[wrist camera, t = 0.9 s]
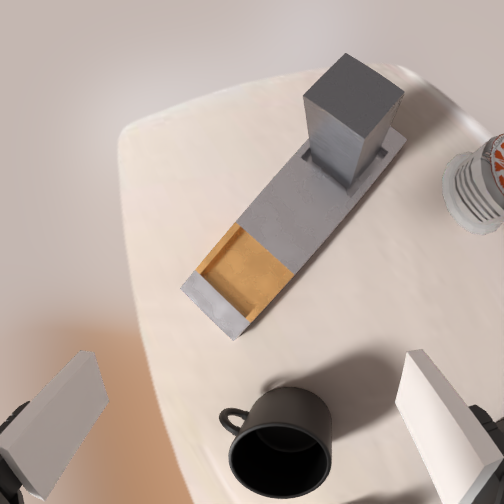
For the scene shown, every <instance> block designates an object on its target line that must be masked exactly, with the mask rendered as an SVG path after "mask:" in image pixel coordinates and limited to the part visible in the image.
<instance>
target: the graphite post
mask: <svg viewBox="0 0 504 504" xmlns="http://www.w3.org/2000/svg"><path fill="white" fill-rule="evenodd" d="M403 95H404V91H403V90H402V89H400V88H399V87H397V86H396V85H395V84H393V83H392V82H390V81H389V80H388V79H386V78H385V77H383V76H382V75H380V74H379V73H377V72H376V71H374V70H373V69H371V68H369V67H368V66H366V65H365V64H363V63H362V62H360V61H358V60H357V59H355V58H353V57H352V56H350V55H348V54H347V53H345V54H344V55H343V56H342V57H341V58H340V59H339V60H338V61H337V62H336V63H335V64H334V65H333V66H332V67H331V68H330V69H329V70H328V71H327V72H326V73H325V74H324V75H323V76H322V77H321V78H320V79H319V80H318V81H317V82H316V83H315V84H314V85H313V86H312V87H311V88H310V89H309V90H308V91H307V92H306V93H305V94H304V95H303V99H304V106H305V113H306V120H307V127H308V134H309V142H310V149H311V158H312V162H314V163H315V164H316V165H318V166H319V167H320V168H321V169H323V170H324V171H325V172H326V173H328V174H329V175H330V176H331V177H333V178H334V179H335V180H336V181H337V182H339V183H340V184H341V185H342V186H344V187H345V188H346V189H347V190H348V191H349V189H350V188H351V187H352V186H353V185H354V183H355V182H356V181H357V180H358V179H359V177H360V176H361V175H362V174H363V173H364V171H365V170H366V169H367V168H368V167H369V165H370V164H371V163H372V162H373V161H374V159H375V158H376V157H377V154H378V152H379V150H380V148H381V146H382V143H383V141H384V139H385V137H386V134H387V132H388V130H389V128H390V125H391V123H392V121H393V119H394V116H395V114H396V112H397V109H398V107H399V104H400V102H401V100H402V97H403Z"/></svg>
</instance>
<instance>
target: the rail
mask: <svg viewBox="0 0 504 504" xmlns="http://www.w3.org/2000/svg"><path fill="white" fill-rule="evenodd" d="M406 141H407V139H406V138H405V137H404V136H402V135H401V134H400V133H399V132H397V131H396V130H395V129H394V128H392V127H391V126H390V128H389V130H388V132H387V134H386V137H385V139H384V141H383V143H382V146H381V148H380V150H379V152H378V154H377V157H376V158H375V159H374V161H373V162H372V163H371V164H370V165H369V167H368V168H367V169H366V170H365V171H364V173H363V174H362V175H361V176H360V177H359V179H358V180H357V181H356V182H355V183H354V185H353V186H352V187H351V188H350V189H349V191H348V190H347V189H346V188H345V187H344V186H342V185H341V184H340V183H339V182H337V181H336V180H335V179H334V178H333V177H331V176H330V175H329V174H328V173H326V172H325V171H324V170H323V169H321V168H320V167H319V166H318V165H316V164H315V163H314V162H312V158H311V149H310V142H309V139H308V140H307V141H306V142H305V143H304V144H303V145H302V146H301V148H300V149H299V150H298V151H297V152H296V153H295V154H294V155H293V157H292V158H291V159H290V160H289V161H288V162H287V163H286V164H285V166H284V167H283V168H282V169H281V170H280V171H279V172H278V174H277V175H276V176H275V177H274V178H273V179H272V180H271V181H270V183H269V184H268V185H267V186H266V187H265V188H264V190H263V191H262V192H261V193H260V194H259V195H258V196H257V198H256V199H255V200H254V201H253V202H252V203H251V205H250V206H249V207H248V208H247V209H246V210H245V211H244V213H243V214H242V215H241V216H240V217H239V218H238V220H237V221H236V222H235V223H234V224H233V226H232V227H231V228H230V229H229V230H228V231H227V233H226V234H225V235H224V236H223V237H222V238H221V240H220V241H219V242H218V243H217V244H216V246H215V247H214V248H213V249H212V250H211V252H210V253H209V254H208V255H207V256H206V258H205V259H204V260H203V261H202V262H201V264H200V265H199V266H198V267H197V268H196V270H195V271H194V272H193V273H192V274H191V276H190V277H189V278H188V279H187V281H186V282H185V283H184V284H183V285H182V287H181V288H180V289H181V290H182V291H183V292H184V293H185V294H186V295H187V296H188V297H189V298H190V299H191V300H192V301H193V302H194V303H195V304H196V305H197V306H198V307H199V308H200V309H201V310H202V311H203V312H204V313H205V314H206V315H207V316H208V317H209V318H210V319H211V320H212V321H213V322H214V323H215V324H216V325H217V326H218V327H219V328H220V329H221V330H222V331H223V332H224V333H226V334H227V335H228V336H229V337H230V338H231V339H232V340H233V341H234V340H235V339H237V338H238V337H239V336H240V335H241V334H242V333H243V332H244V330H245V329H246V328H247V327H248V326H249V325H250V324H251V323H252V322H253V321H254V320H255V319H256V318H257V317H258V315H259V314H260V313H261V312H262V311H263V310H264V309H265V308H266V307H267V306H268V305H269V303H270V302H271V301H272V300H273V299H274V298H275V297H276V296H277V295H278V294H279V292H280V291H281V290H282V289H283V288H284V287H285V286H286V285H287V284H288V283H289V281H290V280H291V279H292V278H293V277H294V276H295V275H296V274H297V272H298V271H299V270H300V269H301V268H302V267H303V266H304V264H305V263H306V262H307V261H308V260H309V259H310V258H311V257H312V255H313V254H314V253H315V252H316V251H317V250H318V248H319V247H320V246H321V245H322V244H323V243H324V242H325V240H326V239H327V238H328V237H329V236H330V235H331V233H332V232H333V231H334V230H335V229H336V228H337V226H338V225H339V224H340V223H341V222H342V220H343V219H344V218H345V217H346V216H347V215H348V213H349V212H350V211H351V210H352V209H353V207H354V206H355V205H356V204H357V203H358V201H359V200H360V199H361V198H362V197H363V195H364V194H365V193H366V192H367V190H368V189H369V188H370V187H371V186H372V184H373V183H374V182H375V181H376V179H377V178H378V177H379V176H380V174H381V173H382V172H383V171H384V170H385V168H386V167H387V166H388V165H389V163H390V162H391V161H392V160H393V158H394V157H395V156H396V154H397V153H398V152H399V151H400V149H401V148H402V147H403V145H404V144H405V142H406Z"/></svg>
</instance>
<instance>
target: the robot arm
mask: <svg viewBox="0 0 504 504" xmlns="http://www.w3.org/2000/svg"><path fill="white" fill-rule="evenodd" d="M108 402H109V399H108V396H107V393H106V390H105V387H104V384H103V380H102V377H101V374H100V371H99V367H98V363H97V360H96V357H95V353H94V352H88V351H82V350H80V351H79V352H78V353H77V355H76V356H74V358H73V359H71V360H70V361H69V362H68V363H67V364H66V366H65V367H64V368H63V369H62V370H61V371H60V372H59V373H58V374H57V375H56V376H55V377H54V378H53V379H52V380H51V381H50V382H49V383H48V384H47V385H46V386H45V387H44V388H43V389H42V390H41V391H40V392H39V393H38V394H37V396H35V398H34V399H33V400H32V401H31V402H30V401H28V402H26V403H24V404H23V405H21V406H19V407H18V408H17V409H16V410H15V411H14V412H13V413H12V416H9V417H8V419H7V420H6V422H4V423H3V424H2V425H1V426H0V504H24V501H23V495H22V493H21V491H20V490H19V488H20V487H21V486H22V485H23V486H24V487H25V489H26V490H27V491H28V492H29V494H31V495H33V496H35V497H37V498H39V499H41V500H43V501H45V500H46V499H47V497H48V496H49V494H50V492H51V491H52V489H53V488H54V486H55V484H56V483H57V481H58V480H59V478H60V476H61V475H62V473H63V472H64V470H65V468H66V467H67V465H68V464H69V462H70V460H71V459H72V457H73V456H74V454H75V453H76V451H77V449H78V448H79V446H80V445H81V443H82V442H83V440H84V439H85V437H86V436H87V434H88V432H89V431H90V429H91V428H92V426H93V425H94V423H95V422H96V420H97V418H98V417H99V415H100V414H101V413H102V411H103V410H104V408H105V406H106V405H107V404H108ZM395 404H396V406H397V408H398V410H399V412H400V414H401V416H402V418H403V420H404V422H405V424H406V426H407V428H408V430H409V432H410V434H411V436H412V438H413V440H414V442H415V444H416V447H417V449H418V451H419V453H420V455H421V457H422V459H423V461H424V464H425V466H426V468H427V470H428V472H429V474H430V477H431V479H432V481H433V483H434V486H435V488H436V490H437V492H438V495H439V497H440V499H441V501H442V504H504V419H503V420H501V421H499V422H497V423H496V424H495V422H493V420H492V418H491V417H490V416H489V415H488V413H487V412H486V411H485V410H483V409H482V408H480V407H478V406H477V405H472V406H469V407H468V406H467V405H466V403H465V402H464V401H463V399H462V398H461V397H460V396H459V394H458V393H457V392H456V390H455V389H454V388H453V387H452V385H451V384H450V383H449V381H448V380H447V379H446V378H445V376H444V375H443V374H442V373H441V371H440V370H439V369H438V368H437V366H436V365H435V364H434V363H433V361H432V360H431V359H430V358H429V356H428V355H427V354H426V353H425V352H424V350H423V349H421V350H414V351H407V353H406V358H405V363H404V367H403V372H402V376H401V381H400V385H399V389H398V393H397V397H396V400H395Z"/></svg>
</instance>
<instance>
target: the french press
mask: <svg viewBox="0 0 504 504" xmlns="http://www.w3.org/2000/svg"><path fill="white" fill-rule="evenodd" d="M491 148H492V149H491ZM489 149H491V150H489ZM485 152H489V153H490V155H488V154H485ZM482 155H483V156H482ZM484 156H486V157H488V158H490V161H489V160H488V159H487V158H485V157H484ZM442 187H443V197H444V200H445V203H446V206H447V209H448V211H449V213H450V214H451V215H452V217H453V218H454V220H455V221H456V222H457V224H458V225H459V226H461V227H462V228H464V229H465V230H467V231H468V232H470V233H473V234H480V235H486V234H488V233H491V232H493V231H496V230H497V228H498V227H499V226H500V225H501V224H502V223H503V222H504V134H501V135H499V136H496V137H493V138H491V139H490V140H489V141H488V142H486V143H485V144H484V145H483V146H481V147H480V148H479V149H478V150H477V151H475V152H474V153H471V152H466V153H462V154H458V155H456V156H455V157H454V158H453V159H452V160H451V161H450V162H449V163H448V164H447V166H446V169H445V172H444V175H443V177H442Z"/></svg>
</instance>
